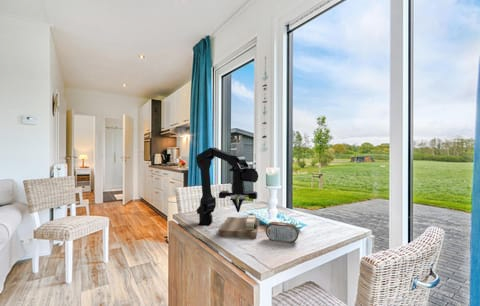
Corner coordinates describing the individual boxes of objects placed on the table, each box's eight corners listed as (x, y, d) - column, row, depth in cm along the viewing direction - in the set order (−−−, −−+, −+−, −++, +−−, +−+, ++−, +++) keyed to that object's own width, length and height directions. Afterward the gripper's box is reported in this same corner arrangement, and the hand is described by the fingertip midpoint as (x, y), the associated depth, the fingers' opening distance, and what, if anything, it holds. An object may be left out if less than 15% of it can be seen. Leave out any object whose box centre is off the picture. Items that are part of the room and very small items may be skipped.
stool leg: (253, 230, 113) (253, 221, 113) (245, 229, 114) (245, 221, 114) (255, 220, 129) (255, 213, 129) (249, 220, 129) (249, 212, 129)
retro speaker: (298, 241, 108) (298, 223, 108) (298, 244, 105) (298, 225, 105) (266, 238, 112) (266, 220, 112) (265, 240, 109) (265, 222, 109)
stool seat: (218, 236, 114) (218, 226, 114) (228, 222, 136) (228, 213, 136) (256, 238, 111) (256, 228, 111) (259, 223, 133) (259, 215, 133)
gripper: (258, 179, 123) (258, 208, 124) (223, 178, 126) (223, 207, 127) (256, 182, 112) (256, 214, 113) (218, 181, 115) (218, 212, 116)
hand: (238, 212), depth 117 cm, fingers closed
